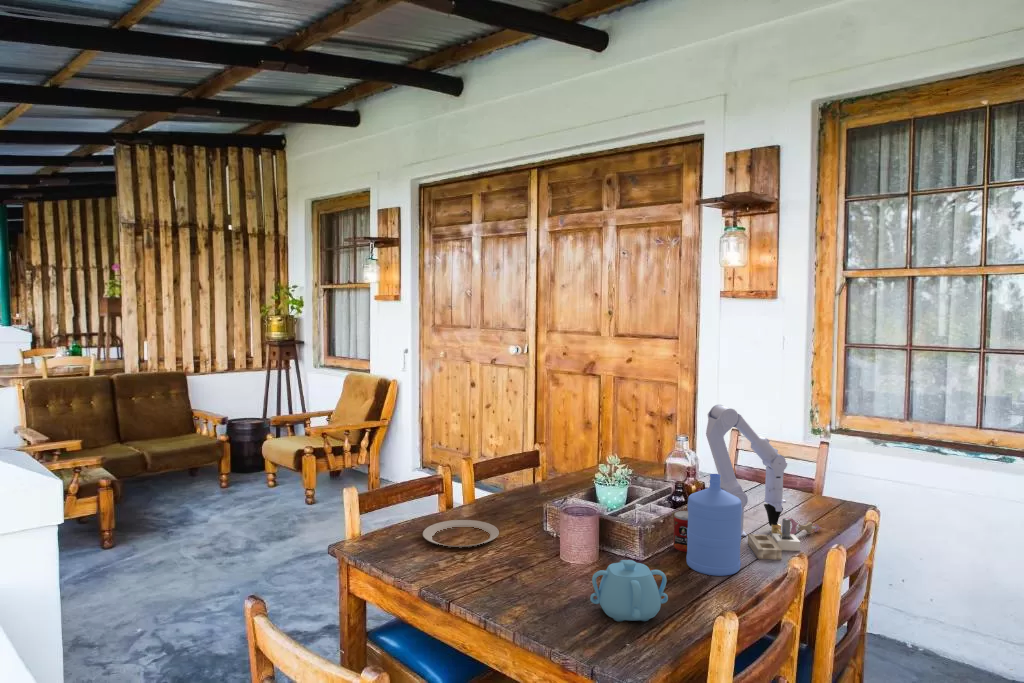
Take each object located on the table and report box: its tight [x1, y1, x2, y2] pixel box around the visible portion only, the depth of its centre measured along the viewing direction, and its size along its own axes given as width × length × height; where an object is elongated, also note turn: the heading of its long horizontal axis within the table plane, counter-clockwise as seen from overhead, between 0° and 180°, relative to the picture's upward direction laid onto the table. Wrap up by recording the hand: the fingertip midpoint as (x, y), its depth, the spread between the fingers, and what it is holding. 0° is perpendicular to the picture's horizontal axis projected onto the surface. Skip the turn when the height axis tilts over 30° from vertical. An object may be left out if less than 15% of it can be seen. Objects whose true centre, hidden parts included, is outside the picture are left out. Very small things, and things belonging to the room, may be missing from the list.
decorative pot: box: [589, 559, 669, 622], centre depth 178 cm, size 16×16×14 cm
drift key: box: [770, 523, 782, 536], centre depth 235 cm, size 3×6×3 cm, turn 174°
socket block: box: [770, 532, 801, 552], centre depth 230 cm, size 7×16×3 cm, turn 174°
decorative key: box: [786, 517, 822, 535], centre depth 236 cm, size 7×1×20 cm
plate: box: [422, 519, 500, 549], centre depth 233 cm, size 26×26×2 cm
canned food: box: [673, 510, 688, 553], centre depth 224 cm, size 8×8×11 cm
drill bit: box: [781, 517, 791, 540], centre depth 225 cm, size 2×2×9 cm
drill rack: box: [747, 533, 783, 561], centre depth 222 cm, size 7×14×3 cm, turn 174°
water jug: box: [686, 473, 742, 577], centre depth 208 cm, size 16×16×28 cm
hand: (772, 525), depth 241 cm, fingers closed
